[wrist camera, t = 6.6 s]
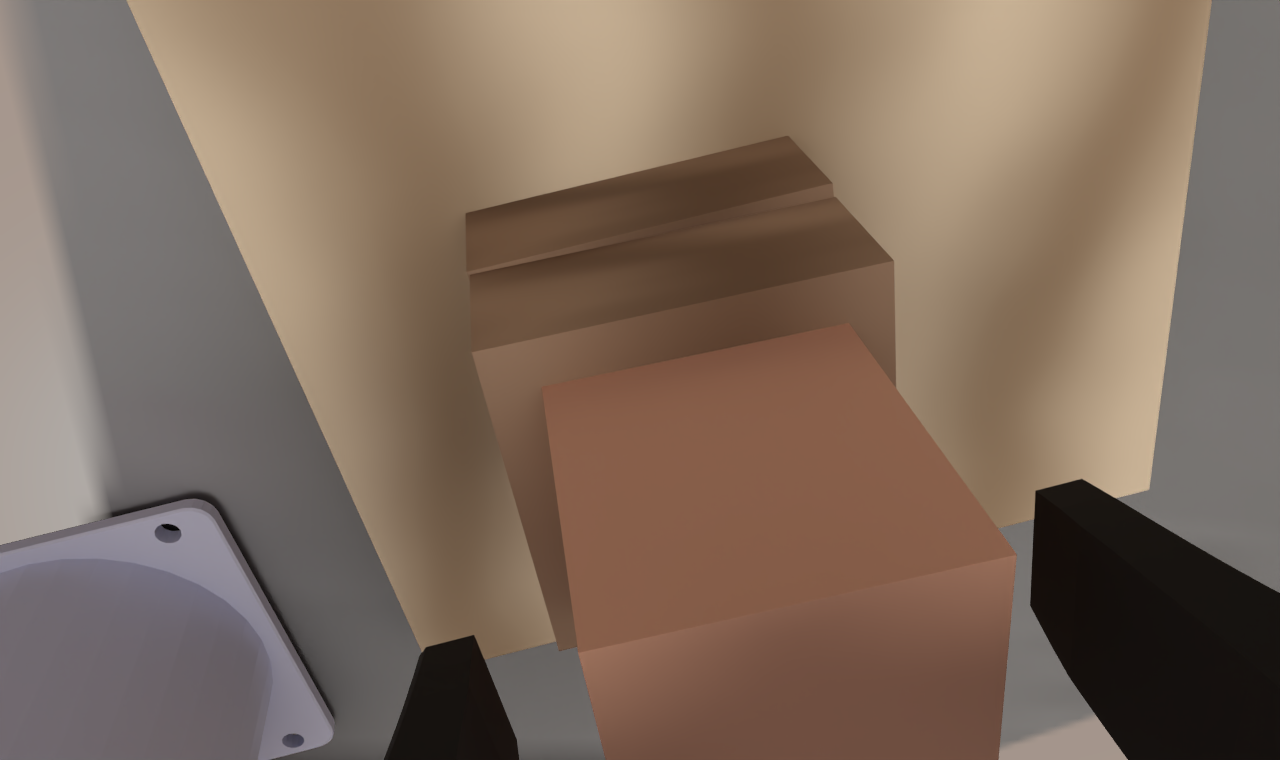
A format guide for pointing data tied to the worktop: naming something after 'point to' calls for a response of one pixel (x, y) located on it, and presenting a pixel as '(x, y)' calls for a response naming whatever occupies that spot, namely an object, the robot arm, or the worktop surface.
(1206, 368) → the worktop surface
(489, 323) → the slab high
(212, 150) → the board
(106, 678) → the robot arm
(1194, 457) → the worktop surface
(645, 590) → the block
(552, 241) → the slab low
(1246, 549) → the worktop surface
